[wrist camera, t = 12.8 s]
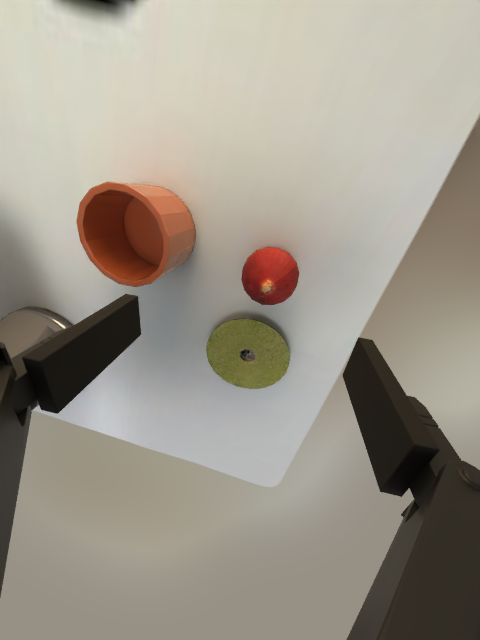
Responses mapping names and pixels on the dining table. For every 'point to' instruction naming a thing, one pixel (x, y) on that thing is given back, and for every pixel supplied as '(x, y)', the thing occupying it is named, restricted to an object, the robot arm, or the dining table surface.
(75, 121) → the dining table surface
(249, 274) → the onion
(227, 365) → the mat
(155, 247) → the flower pot
